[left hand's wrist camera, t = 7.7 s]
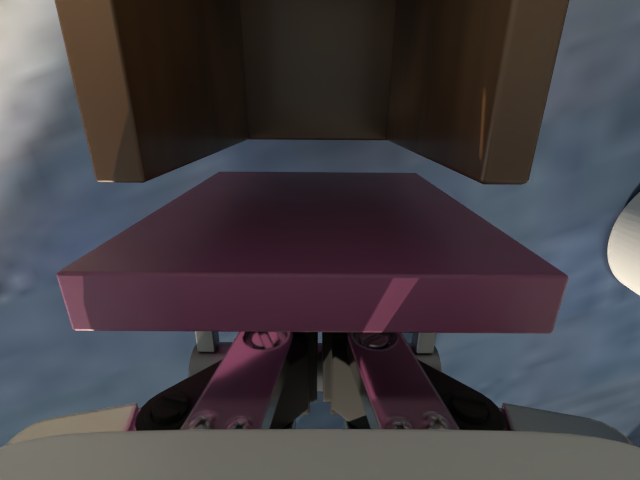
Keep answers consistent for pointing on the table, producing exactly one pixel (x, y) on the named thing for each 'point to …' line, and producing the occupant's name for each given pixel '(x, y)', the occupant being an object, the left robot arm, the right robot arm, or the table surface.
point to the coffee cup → (626, 246)
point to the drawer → (312, 187)
